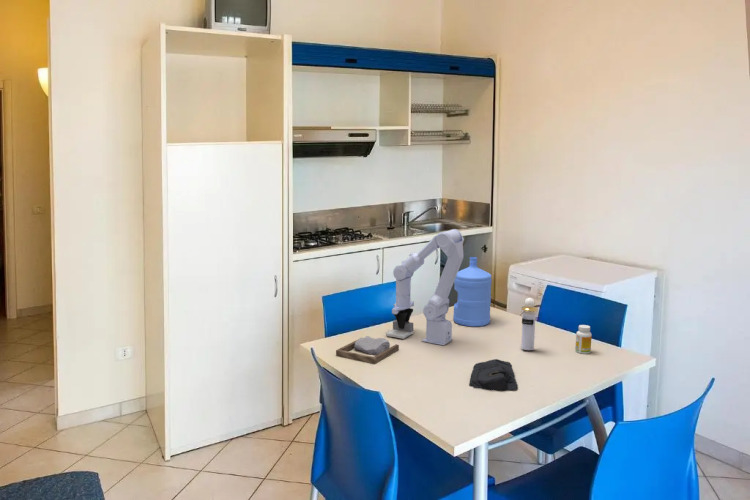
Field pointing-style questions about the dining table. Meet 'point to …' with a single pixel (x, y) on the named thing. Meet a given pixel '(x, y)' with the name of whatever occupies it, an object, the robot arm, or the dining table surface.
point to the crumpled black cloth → (493, 376)
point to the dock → (344, 353)
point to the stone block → (372, 345)
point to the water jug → (472, 296)
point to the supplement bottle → (583, 339)
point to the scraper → (401, 330)
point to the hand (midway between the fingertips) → (403, 327)
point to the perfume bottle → (528, 324)
